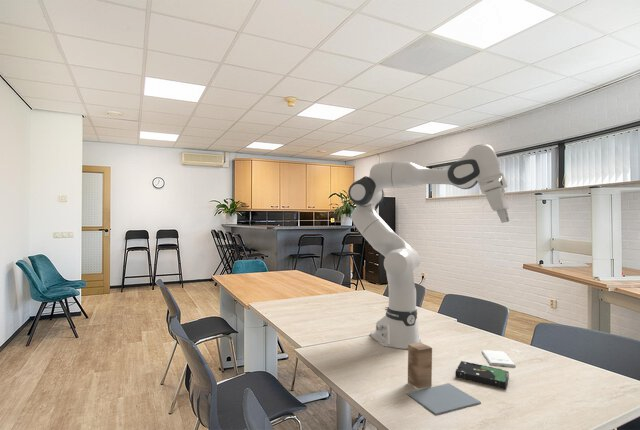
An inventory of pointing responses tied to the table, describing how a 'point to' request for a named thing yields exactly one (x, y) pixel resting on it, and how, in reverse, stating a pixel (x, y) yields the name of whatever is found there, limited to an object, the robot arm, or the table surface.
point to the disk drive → (483, 374)
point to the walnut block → (419, 366)
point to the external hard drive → (498, 358)
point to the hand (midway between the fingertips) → (505, 222)
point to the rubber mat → (443, 398)
